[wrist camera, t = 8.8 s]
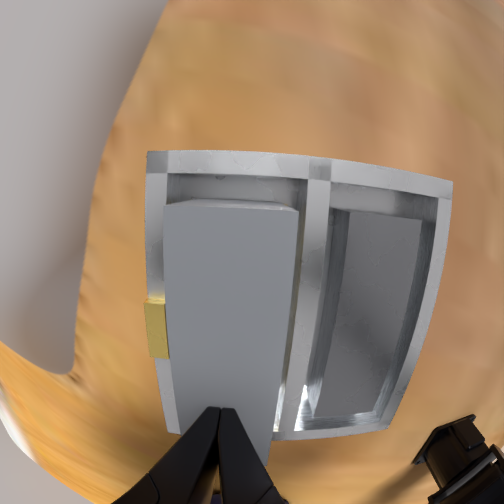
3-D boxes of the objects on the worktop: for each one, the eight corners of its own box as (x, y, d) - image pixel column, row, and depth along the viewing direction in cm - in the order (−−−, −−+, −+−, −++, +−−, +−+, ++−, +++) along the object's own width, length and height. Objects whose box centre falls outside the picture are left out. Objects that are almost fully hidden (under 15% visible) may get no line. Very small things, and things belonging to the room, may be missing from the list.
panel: (262, 393, 17) (266, 466, 11) (201, 390, 16) (185, 460, 11) (278, 201, 14) (298, 211, 8) (199, 198, 14) (163, 205, 8)
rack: (374, 404, 18) (390, 434, 14) (176, 404, 18) (166, 438, 14) (424, 181, 14) (459, 181, 11) (166, 157, 14) (142, 149, 11)
